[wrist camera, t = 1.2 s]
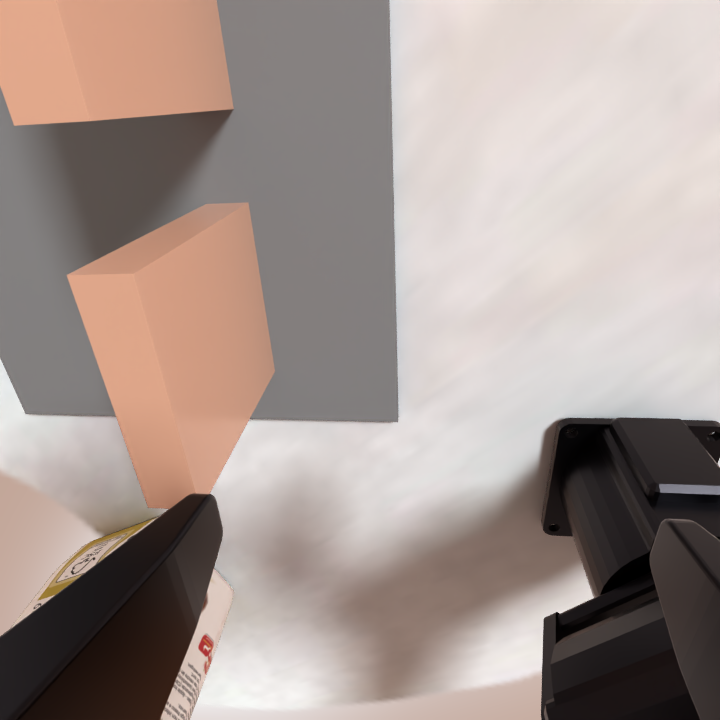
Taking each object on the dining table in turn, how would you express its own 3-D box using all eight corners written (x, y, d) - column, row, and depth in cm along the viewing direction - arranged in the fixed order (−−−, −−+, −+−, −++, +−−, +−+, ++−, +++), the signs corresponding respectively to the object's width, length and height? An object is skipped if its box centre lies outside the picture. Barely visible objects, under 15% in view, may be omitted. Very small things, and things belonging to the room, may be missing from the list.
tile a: (274, 371, 21) (200, 510, 14) (235, 370, 21) (143, 507, 14) (248, 202, 18) (134, 273, 11) (202, 204, 18) (60, 275, 11)
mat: (398, 416, 22) (398, 422, 21) (31, 409, 24) (25, 414, 24) (381, -361, 11) (379, -376, 11) (-260, -245, 14) (-278, -254, 13)
